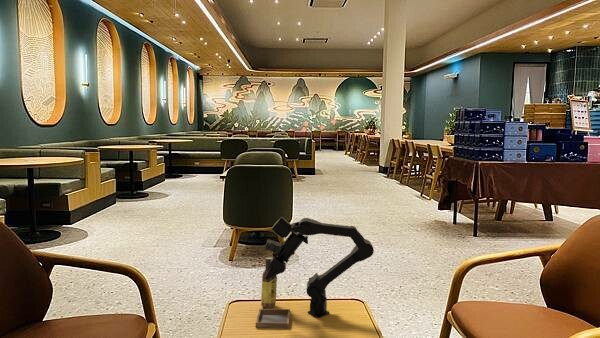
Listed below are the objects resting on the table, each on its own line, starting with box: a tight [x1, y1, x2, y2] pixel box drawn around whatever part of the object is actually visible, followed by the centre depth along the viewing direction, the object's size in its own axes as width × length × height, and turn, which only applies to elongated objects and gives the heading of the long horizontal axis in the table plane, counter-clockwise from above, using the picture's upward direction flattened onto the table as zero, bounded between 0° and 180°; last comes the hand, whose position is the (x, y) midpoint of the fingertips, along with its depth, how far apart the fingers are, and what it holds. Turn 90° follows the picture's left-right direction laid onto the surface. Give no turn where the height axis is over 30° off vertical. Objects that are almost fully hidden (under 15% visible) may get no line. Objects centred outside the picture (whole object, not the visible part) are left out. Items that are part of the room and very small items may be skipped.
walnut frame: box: [255, 308, 291, 329], centre depth 176 cm, size 12×12×2 cm
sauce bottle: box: [260, 257, 278, 309], centre depth 189 cm, size 7×6×20 cm
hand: (267, 274), depth 182 cm, fingers open, 9 cm apart
